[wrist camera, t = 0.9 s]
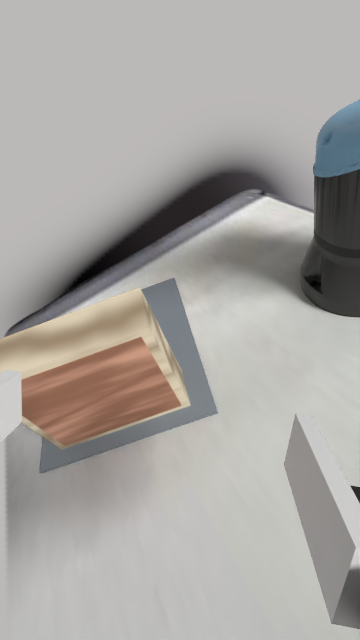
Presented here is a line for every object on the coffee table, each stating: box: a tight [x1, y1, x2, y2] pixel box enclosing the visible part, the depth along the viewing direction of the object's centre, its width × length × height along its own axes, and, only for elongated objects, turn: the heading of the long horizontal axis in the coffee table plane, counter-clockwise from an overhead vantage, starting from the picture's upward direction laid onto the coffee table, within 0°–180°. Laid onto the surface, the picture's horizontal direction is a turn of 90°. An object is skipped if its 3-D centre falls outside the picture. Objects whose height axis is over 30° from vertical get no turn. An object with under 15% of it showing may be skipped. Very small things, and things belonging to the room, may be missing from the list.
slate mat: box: [40, 278, 217, 473], centre depth 51 cm, size 28×24×1 cm
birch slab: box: [0, 287, 191, 450], centre depth 39 cm, size 6×18×16 cm, turn 102°
